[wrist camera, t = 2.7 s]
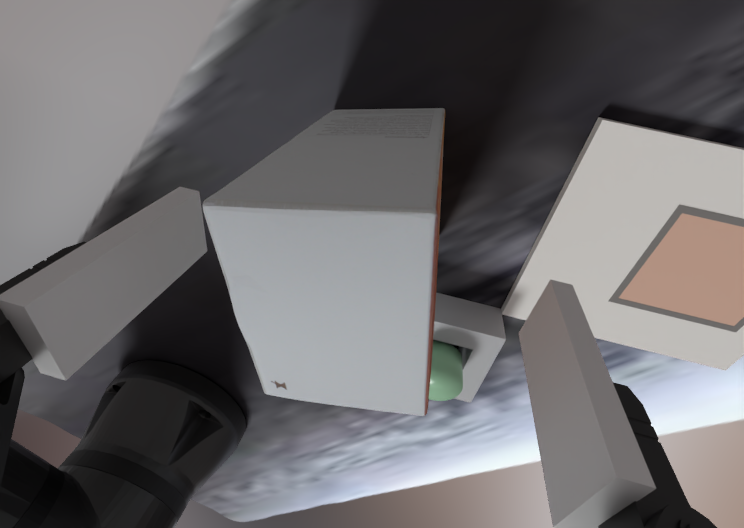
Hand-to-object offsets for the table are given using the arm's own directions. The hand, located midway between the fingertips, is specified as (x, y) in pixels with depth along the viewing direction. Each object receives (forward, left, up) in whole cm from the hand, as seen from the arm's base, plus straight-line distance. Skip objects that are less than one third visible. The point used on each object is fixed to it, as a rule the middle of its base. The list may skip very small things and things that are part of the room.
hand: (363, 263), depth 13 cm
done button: (+6, -11, -7) cm, 14 cm away
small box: (0, 0, -10) cm, 10 cm away
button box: (+6, -11, -10) cm, 16 cm away
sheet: (+17, -1, -10) cm, 19 cm away
